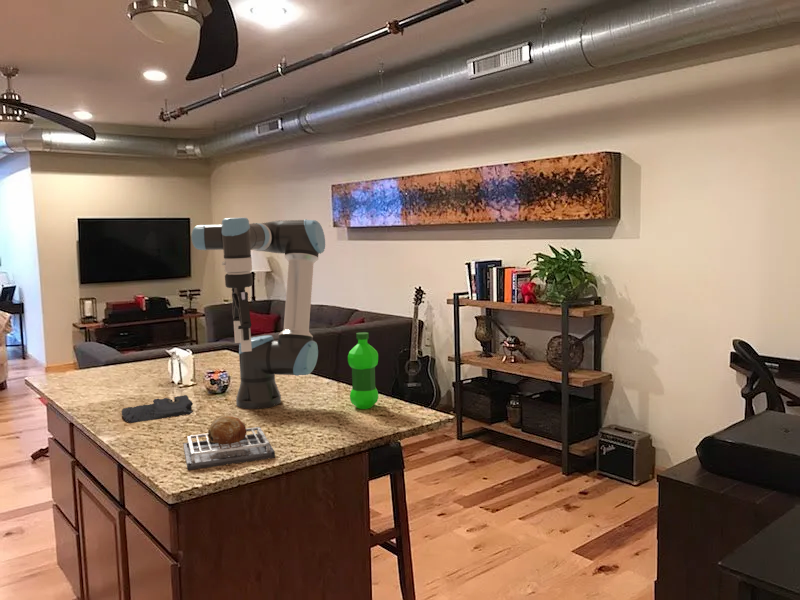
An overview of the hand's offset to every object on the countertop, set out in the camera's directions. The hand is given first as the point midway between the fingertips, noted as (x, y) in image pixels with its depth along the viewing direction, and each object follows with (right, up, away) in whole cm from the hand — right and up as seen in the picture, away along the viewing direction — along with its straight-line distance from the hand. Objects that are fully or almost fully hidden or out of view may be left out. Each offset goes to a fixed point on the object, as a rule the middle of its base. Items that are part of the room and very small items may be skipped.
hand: (243, 347), depth 191 cm
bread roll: (-2, -24, -10) cm, 26 cm away
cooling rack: (-2, -28, -10) cm, 30 cm away
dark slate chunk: (-36, -25, +31) cm, 54 cm away
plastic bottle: (+33, -23, +34) cm, 52 cm away
